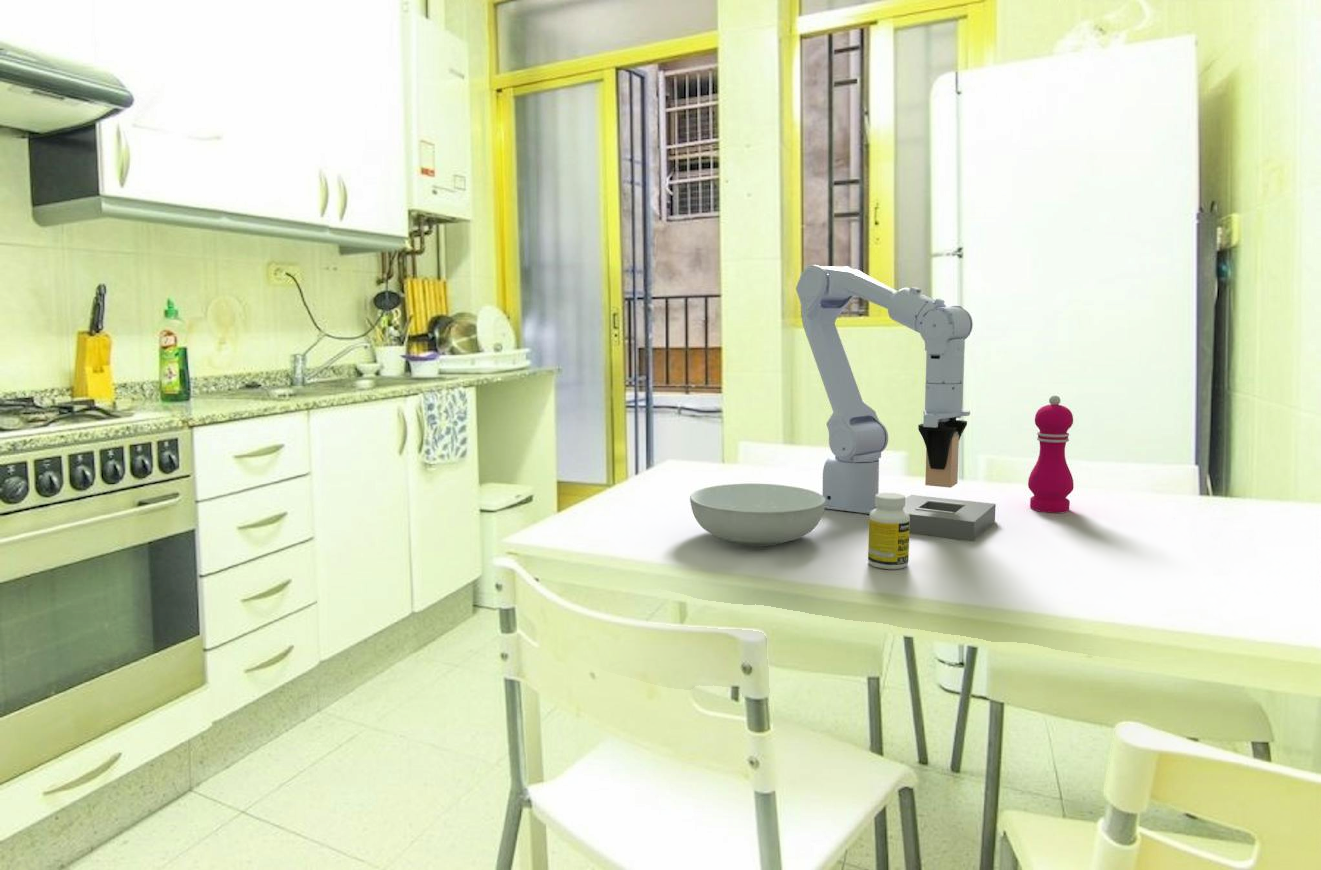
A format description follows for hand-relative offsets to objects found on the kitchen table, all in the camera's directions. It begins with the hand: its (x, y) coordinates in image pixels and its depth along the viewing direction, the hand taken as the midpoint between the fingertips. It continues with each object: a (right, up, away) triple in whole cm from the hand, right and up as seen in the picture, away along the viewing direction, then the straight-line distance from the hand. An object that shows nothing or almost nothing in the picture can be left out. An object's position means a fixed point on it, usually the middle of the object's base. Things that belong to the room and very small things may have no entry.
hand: (941, 466), depth 131 cm
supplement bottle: (-14, -13, -19) cm, 27 cm away
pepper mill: (+23, -8, +11) cm, 27 cm away
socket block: (0, -10, +1) cm, 10 cm away
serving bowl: (-30, -11, -4) cm, 33 cm away
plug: (0, -3, 0) cm, 3 cm away
